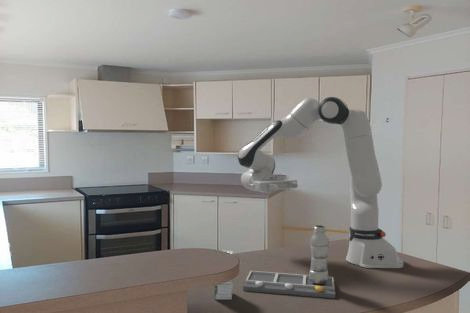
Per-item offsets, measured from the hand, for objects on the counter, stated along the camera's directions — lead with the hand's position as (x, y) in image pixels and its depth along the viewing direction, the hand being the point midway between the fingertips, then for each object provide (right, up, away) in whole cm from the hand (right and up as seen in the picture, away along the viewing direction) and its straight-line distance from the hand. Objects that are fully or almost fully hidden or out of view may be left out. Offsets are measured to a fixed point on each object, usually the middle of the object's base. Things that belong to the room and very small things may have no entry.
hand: (287, 186), depth 160 cm
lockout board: (-2, -33, -23) cm, 40 cm away
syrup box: (-25, -34, -31) cm, 52 cm away
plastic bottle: (+8, -32, -23) cm, 40 cm away
